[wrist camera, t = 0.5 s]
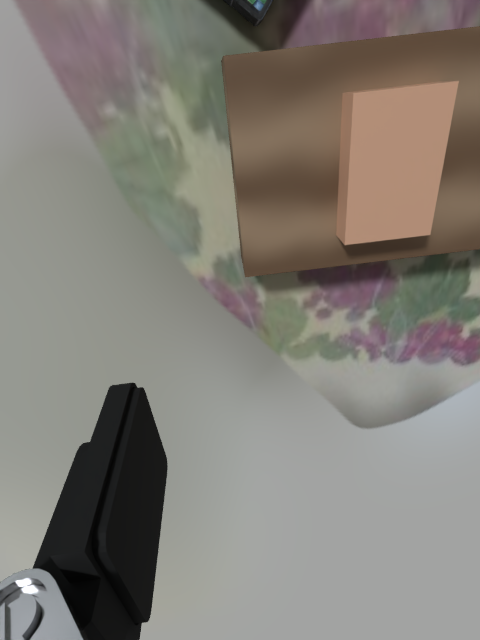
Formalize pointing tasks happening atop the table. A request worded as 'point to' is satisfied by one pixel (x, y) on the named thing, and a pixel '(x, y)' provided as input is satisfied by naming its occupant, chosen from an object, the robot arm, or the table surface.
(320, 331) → the table surface
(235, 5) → the disk drive
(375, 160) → the tile
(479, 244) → the board
